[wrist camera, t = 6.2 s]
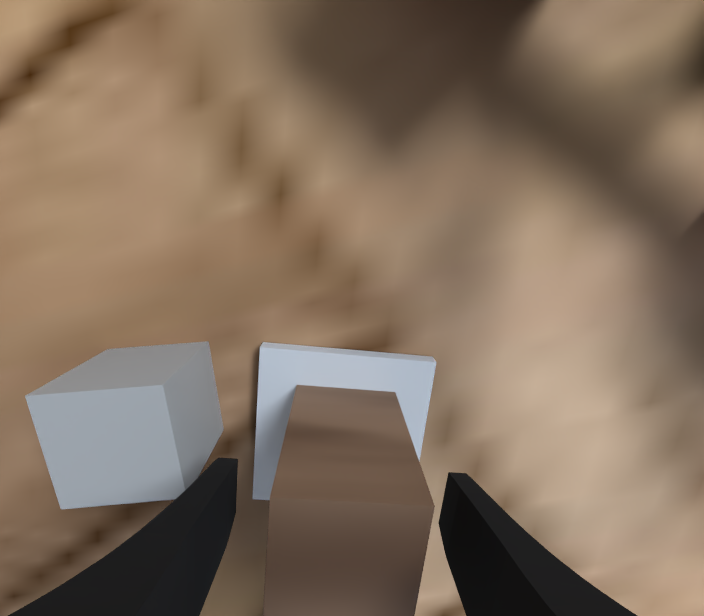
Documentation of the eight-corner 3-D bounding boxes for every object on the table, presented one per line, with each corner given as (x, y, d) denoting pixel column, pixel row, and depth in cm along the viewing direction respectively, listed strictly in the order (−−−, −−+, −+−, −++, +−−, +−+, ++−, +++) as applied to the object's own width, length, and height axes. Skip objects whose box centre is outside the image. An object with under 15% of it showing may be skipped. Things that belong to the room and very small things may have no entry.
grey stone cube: (224, 428, 15) (186, 498, 12) (130, 436, 15) (60, 509, 11) (209, 340, 14) (162, 384, 11) (109, 348, 14) (25, 395, 11)
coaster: (408, 497, 17) (411, 508, 16) (255, 489, 16) (252, 499, 16) (432, 356, 15) (436, 362, 14) (262, 341, 14) (259, 347, 14)
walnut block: (383, 476, 16) (411, 630, 10) (290, 470, 15) (262, 625, 9) (395, 391, 15) (434, 506, 9) (296, 384, 14) (269, 497, 8)
